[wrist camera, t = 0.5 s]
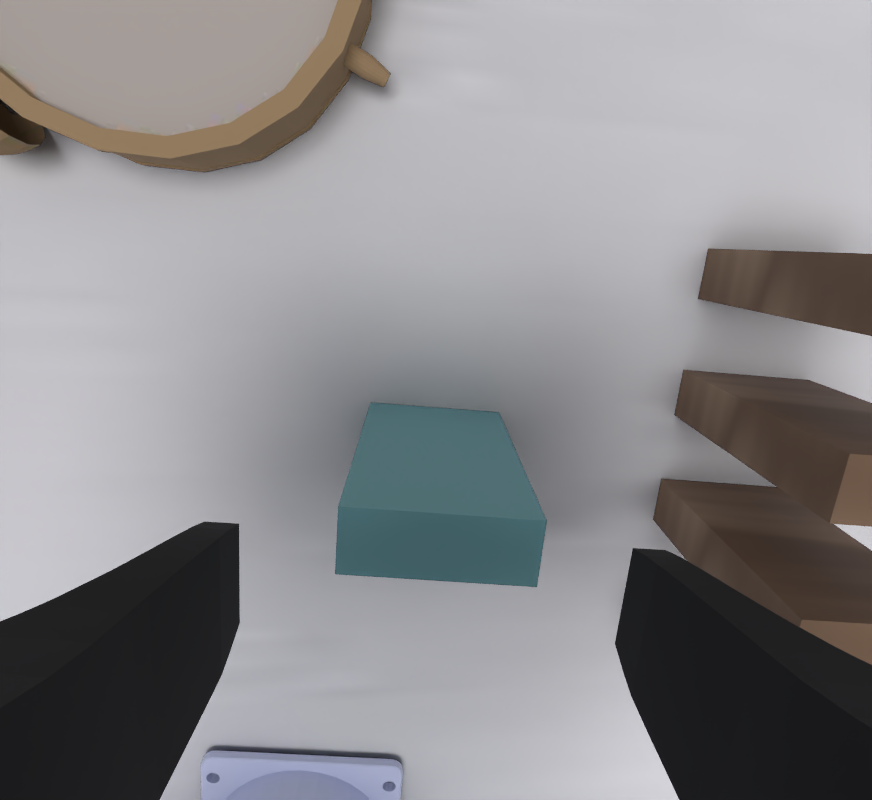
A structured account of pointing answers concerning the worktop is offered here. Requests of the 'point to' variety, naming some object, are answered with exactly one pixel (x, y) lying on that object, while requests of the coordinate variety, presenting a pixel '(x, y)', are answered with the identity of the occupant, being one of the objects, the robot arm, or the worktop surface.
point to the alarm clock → (177, 74)
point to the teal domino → (438, 500)
